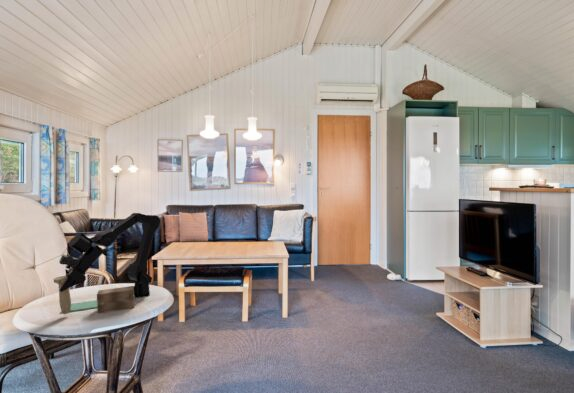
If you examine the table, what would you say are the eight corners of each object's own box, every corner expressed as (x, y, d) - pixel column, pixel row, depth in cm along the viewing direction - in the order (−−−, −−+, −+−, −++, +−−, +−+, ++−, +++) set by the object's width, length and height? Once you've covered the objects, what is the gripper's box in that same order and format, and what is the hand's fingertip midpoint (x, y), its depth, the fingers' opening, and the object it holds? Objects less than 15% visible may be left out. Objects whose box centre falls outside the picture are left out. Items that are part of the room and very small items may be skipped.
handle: (72, 314, 143) (68, 279, 142) (55, 316, 142) (51, 280, 141) (77, 309, 148) (73, 275, 146) (60, 311, 147) (57, 276, 145)
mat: (100, 300, 163) (100, 299, 163) (97, 308, 154) (97, 306, 154) (66, 305, 158) (65, 304, 158) (60, 313, 149) (60, 312, 149)
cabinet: (134, 303, 159) (133, 285, 158) (133, 308, 151) (132, 290, 151) (100, 308, 154) (98, 290, 153) (97, 314, 146) (96, 295, 146)
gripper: (69, 244, 153) (41, 274, 147) (74, 250, 138) (42, 284, 132) (91, 259, 158) (64, 288, 152) (98, 266, 143) (68, 299, 137)
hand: (59, 289), depth 143 cm, fingers closed on handle, 5 cm apart
